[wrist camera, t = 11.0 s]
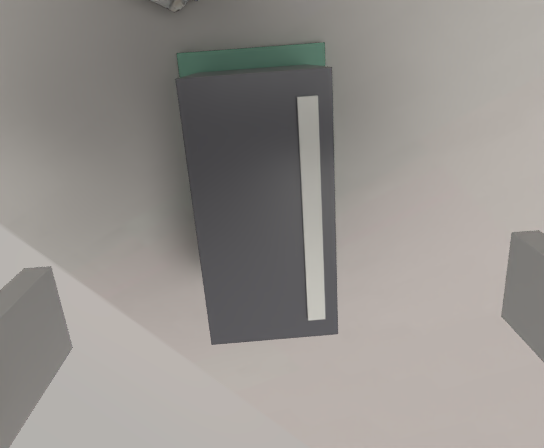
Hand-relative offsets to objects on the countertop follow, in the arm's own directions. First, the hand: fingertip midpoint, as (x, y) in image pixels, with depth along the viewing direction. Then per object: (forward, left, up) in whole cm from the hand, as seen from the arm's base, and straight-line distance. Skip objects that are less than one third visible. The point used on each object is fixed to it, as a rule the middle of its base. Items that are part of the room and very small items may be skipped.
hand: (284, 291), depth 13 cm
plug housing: (0, 0, -15) cm, 15 cm away
